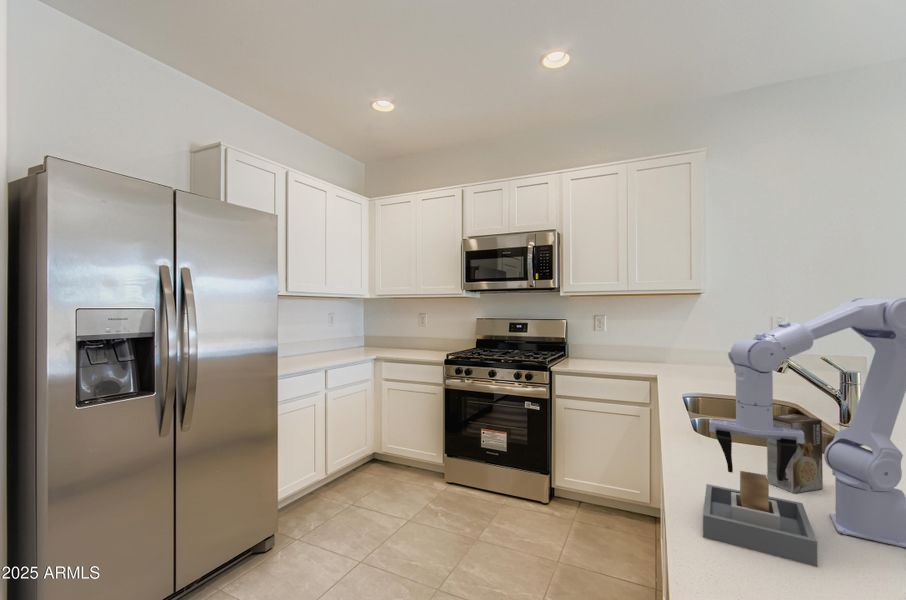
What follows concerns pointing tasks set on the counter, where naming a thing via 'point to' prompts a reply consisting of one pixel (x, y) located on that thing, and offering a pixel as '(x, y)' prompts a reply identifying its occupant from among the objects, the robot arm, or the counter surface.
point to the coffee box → (798, 455)
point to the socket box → (759, 525)
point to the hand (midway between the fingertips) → (754, 474)
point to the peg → (754, 491)
